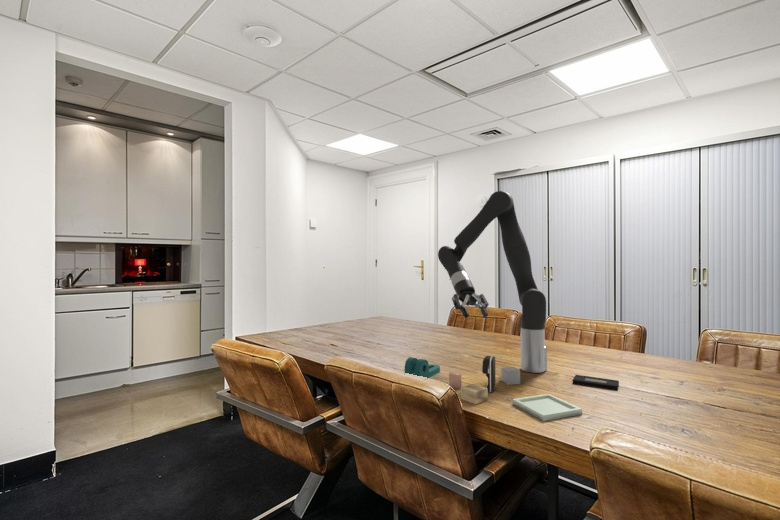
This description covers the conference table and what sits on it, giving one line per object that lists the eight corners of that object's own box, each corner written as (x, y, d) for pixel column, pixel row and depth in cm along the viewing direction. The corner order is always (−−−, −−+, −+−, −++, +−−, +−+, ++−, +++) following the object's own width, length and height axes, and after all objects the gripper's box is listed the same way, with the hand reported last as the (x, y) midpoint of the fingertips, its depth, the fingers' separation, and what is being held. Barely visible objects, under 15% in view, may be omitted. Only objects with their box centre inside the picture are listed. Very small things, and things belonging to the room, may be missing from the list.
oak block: (473, 395, 136) (473, 383, 136) (487, 400, 131) (487, 388, 131) (461, 399, 133) (461, 387, 133) (475, 404, 128) (475, 392, 128)
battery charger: (484, 385, 146) (484, 354, 146) (495, 386, 145) (495, 355, 144) (481, 391, 139) (481, 358, 139) (493, 393, 138) (492, 359, 138)
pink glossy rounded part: (457, 384, 147) (457, 371, 147) (463, 388, 143) (463, 374, 143) (446, 386, 146) (446, 372, 146) (452, 390, 142) (452, 375, 142)
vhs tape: (575, 379, 154) (575, 374, 154) (618, 386, 146) (618, 380, 146) (572, 385, 147) (572, 379, 147) (617, 392, 140) (617, 386, 140)
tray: (548, 398, 132) (548, 393, 132) (582, 414, 119) (582, 408, 119) (512, 404, 128) (512, 399, 128) (543, 421, 114) (543, 415, 114)
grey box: (513, 379, 153) (513, 366, 153) (520, 384, 148) (520, 370, 148) (501, 380, 152) (501, 367, 152) (507, 384, 147) (507, 371, 147)
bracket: (419, 382, 151) (419, 361, 151) (404, 379, 155) (404, 359, 155) (442, 371, 165) (442, 352, 165) (428, 368, 169) (428, 350, 169)
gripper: (450, 278, 162) (465, 311, 151) (480, 278, 167) (496, 310, 156) (443, 290, 167) (457, 323, 156) (473, 290, 172) (488, 321, 161)
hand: (476, 316), depth 156 cm, fingers open, 8 cm apart
